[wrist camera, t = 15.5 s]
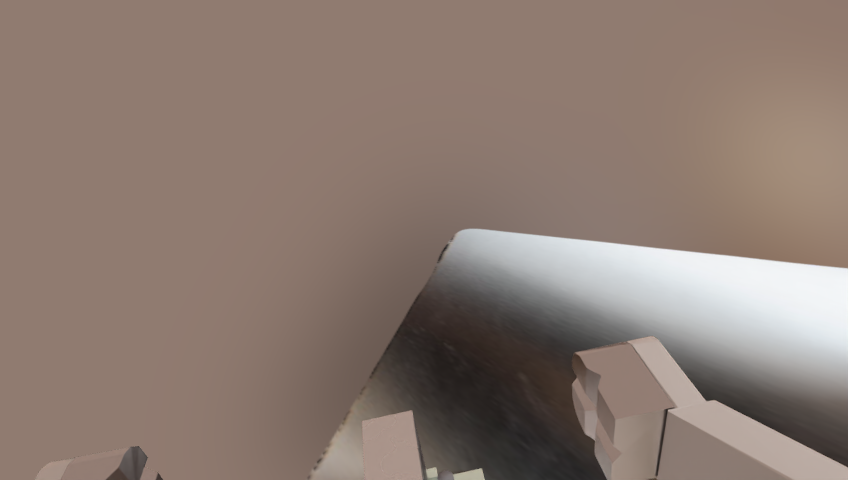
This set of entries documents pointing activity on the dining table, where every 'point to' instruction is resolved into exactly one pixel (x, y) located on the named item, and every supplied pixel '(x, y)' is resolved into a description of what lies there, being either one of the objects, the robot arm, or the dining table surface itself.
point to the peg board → (455, 475)
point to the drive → (392, 448)
